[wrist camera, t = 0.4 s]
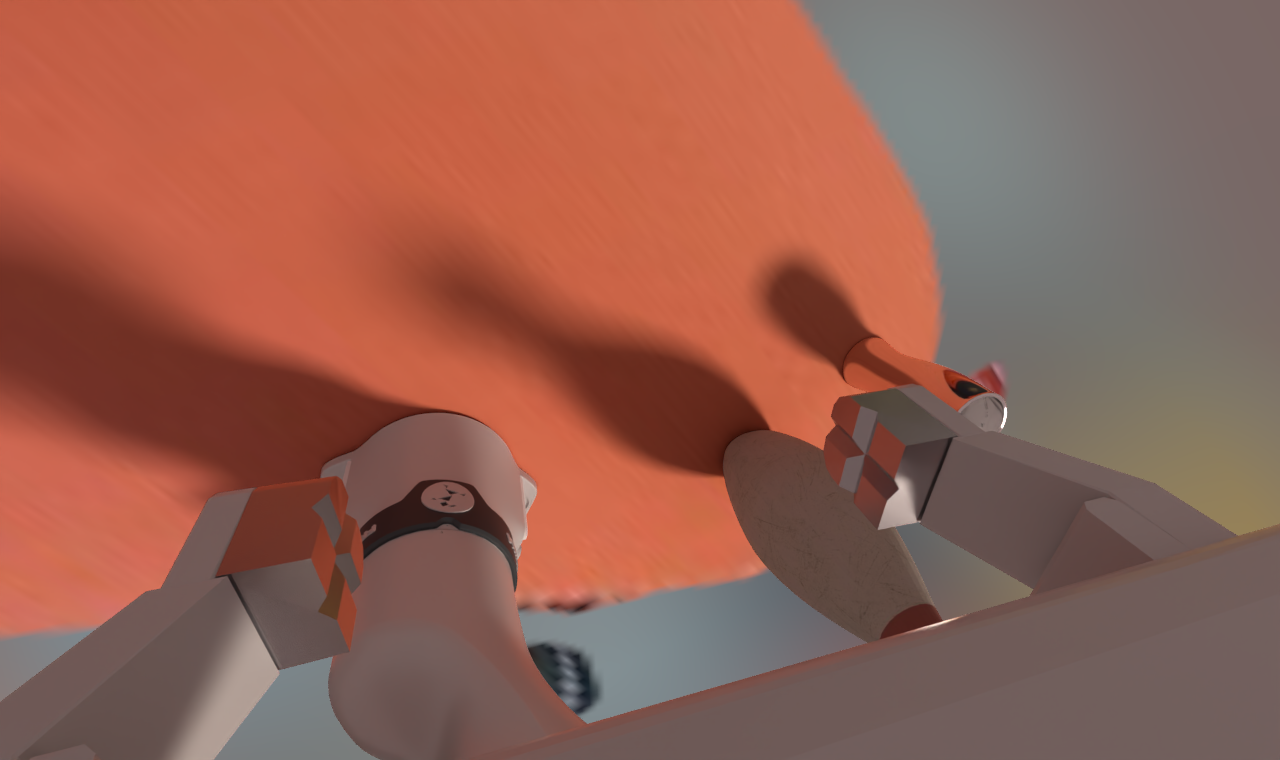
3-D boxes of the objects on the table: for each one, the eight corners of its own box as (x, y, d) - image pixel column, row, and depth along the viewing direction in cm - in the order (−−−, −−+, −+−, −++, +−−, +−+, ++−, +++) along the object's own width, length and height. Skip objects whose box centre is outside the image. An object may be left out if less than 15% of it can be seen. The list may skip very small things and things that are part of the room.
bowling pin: (797, 398, 61) (1207, 725, 28) (788, 485, 66) (1127, 848, 33) (703, 416, 58) (1037, 802, 25) (701, 505, 63) (978, 924, 30)
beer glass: (844, 336, 59) (954, 396, 46) (898, 329, 61) (1019, 386, 48) (834, 394, 62) (935, 467, 49) (886, 386, 64) (997, 454, 51)
